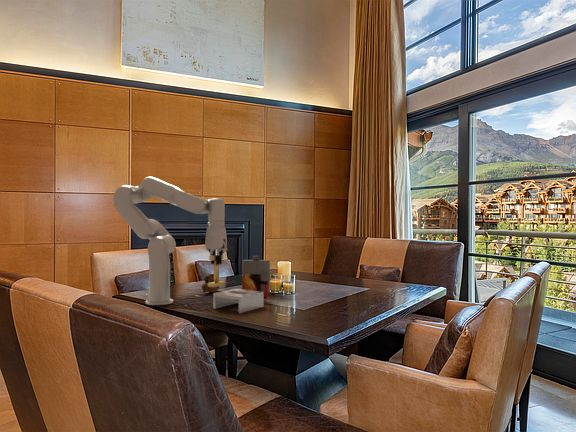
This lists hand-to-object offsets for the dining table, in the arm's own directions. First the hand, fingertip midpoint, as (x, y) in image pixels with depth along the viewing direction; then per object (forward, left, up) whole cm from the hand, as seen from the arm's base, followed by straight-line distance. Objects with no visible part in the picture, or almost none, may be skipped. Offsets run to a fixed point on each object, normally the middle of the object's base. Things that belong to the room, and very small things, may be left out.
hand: (216, 263), depth 196 cm
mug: (+9, +19, -19) cm, 28 cm away
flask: (-3, +34, -19) cm, 39 cm away
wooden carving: (-23, +21, -19) cm, 37 cm away
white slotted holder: (+14, 0, -19) cm, 24 cm away
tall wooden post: (0, 0, -10) cm, 10 cm away
